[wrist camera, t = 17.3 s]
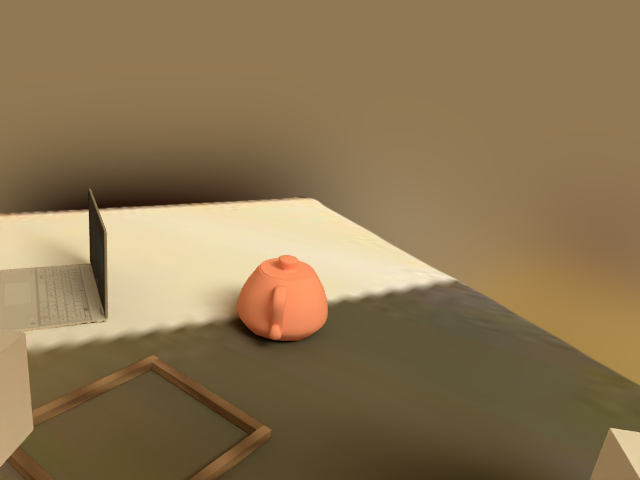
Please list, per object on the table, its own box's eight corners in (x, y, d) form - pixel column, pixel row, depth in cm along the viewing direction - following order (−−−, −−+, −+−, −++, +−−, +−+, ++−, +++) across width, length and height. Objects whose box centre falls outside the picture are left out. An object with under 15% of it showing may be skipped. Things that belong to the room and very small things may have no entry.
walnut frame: (152, 362, 63) (153, 354, 62) (270, 438, 53) (271, 429, 53) (-13, 440, 48) (-14, 431, 48) (108, 562, 39) (108, 552, 39)
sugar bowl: (327, 312, 80) (337, 248, 76) (320, 364, 67) (331, 290, 63) (246, 299, 80) (251, 235, 77) (222, 349, 67) (227, 275, 64)
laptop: (0, 274, 79) (-8, 188, 74) (93, 267, 84) (91, 187, 80) (-4, 338, 64) (-14, 235, 59) (108, 324, 70) (107, 230, 65)
